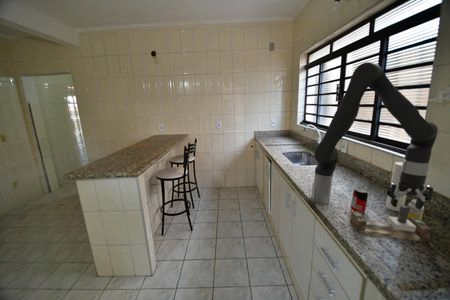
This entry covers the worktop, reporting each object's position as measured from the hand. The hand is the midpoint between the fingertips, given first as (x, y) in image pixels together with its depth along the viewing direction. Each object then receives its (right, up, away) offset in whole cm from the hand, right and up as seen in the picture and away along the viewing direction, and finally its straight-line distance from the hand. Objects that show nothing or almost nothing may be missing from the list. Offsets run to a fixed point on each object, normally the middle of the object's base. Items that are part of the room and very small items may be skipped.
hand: (405, 207), depth 81 cm
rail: (-5, -12, +4) cm, 14 cm away
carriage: (0, -9, +3) cm, 9 cm away
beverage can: (-6, -8, +21) cm, 23 cm away
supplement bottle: (+15, -10, +12) cm, 21 cm away
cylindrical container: (+15, -7, +23) cm, 28 cm away
